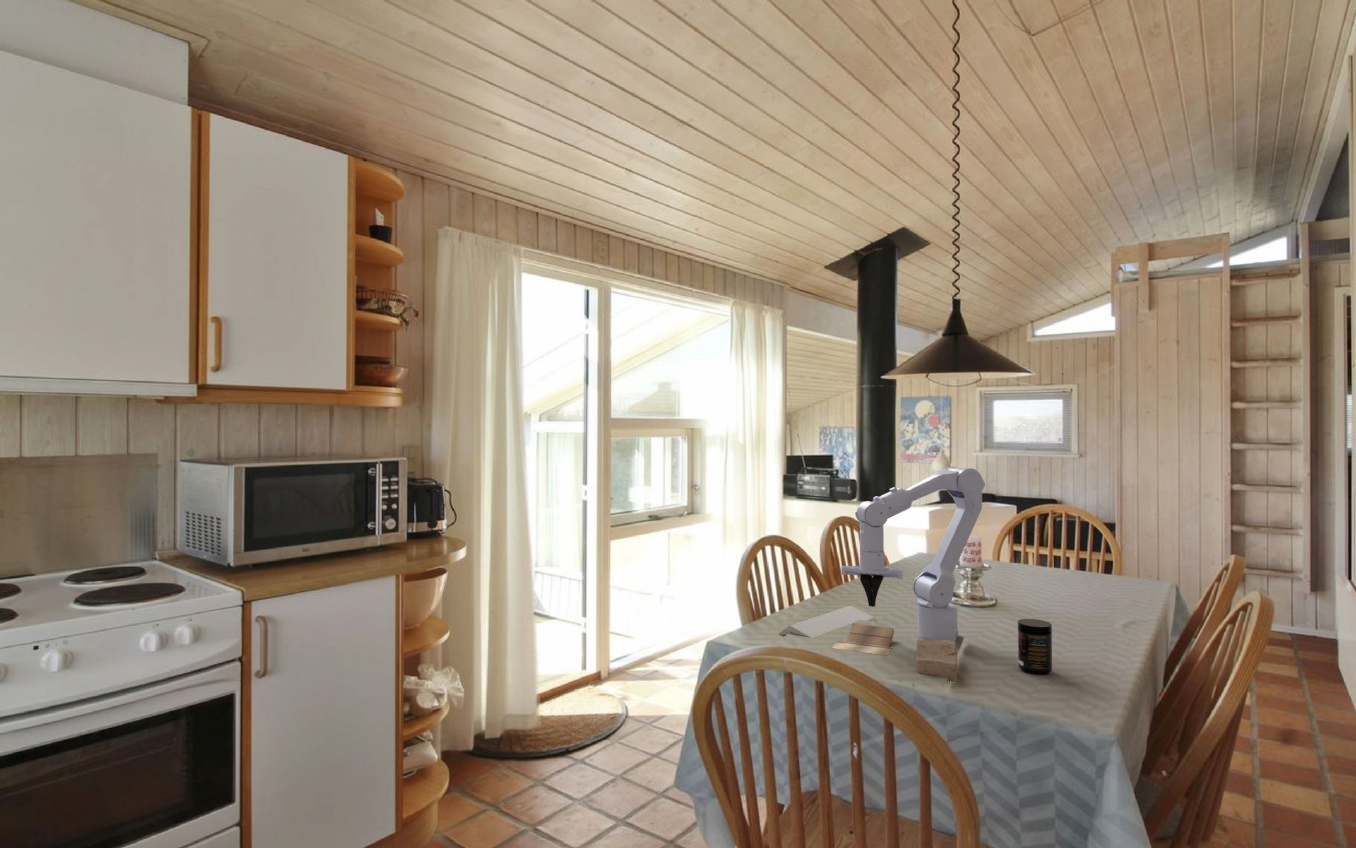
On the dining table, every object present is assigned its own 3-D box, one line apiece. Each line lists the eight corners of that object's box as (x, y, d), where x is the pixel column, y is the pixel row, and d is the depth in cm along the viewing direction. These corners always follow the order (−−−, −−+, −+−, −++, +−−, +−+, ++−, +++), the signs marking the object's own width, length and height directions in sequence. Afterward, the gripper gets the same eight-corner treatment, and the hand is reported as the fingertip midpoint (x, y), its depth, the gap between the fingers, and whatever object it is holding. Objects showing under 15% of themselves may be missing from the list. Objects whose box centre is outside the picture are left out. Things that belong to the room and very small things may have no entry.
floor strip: (892, 653, 170) (892, 647, 170) (887, 660, 164) (887, 654, 164) (838, 646, 175) (837, 640, 175) (831, 653, 170) (831, 647, 170)
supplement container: (1059, 675, 154) (1058, 626, 154) (1029, 676, 153) (1028, 627, 154) (1040, 665, 161) (1040, 618, 161) (1011, 666, 160) (1011, 619, 160)
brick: (958, 684, 150) (957, 662, 150) (915, 680, 152) (915, 657, 152) (955, 661, 165) (955, 640, 165) (917, 657, 168) (917, 637, 168)
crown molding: (817, 646, 177) (817, 631, 178) (777, 636, 186) (777, 622, 186) (876, 623, 198) (876, 610, 198) (837, 615, 207) (837, 603, 207)
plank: (893, 632, 176) (893, 628, 176) (889, 651, 171) (888, 647, 170) (853, 627, 181) (852, 623, 180) (846, 646, 175) (846, 641, 175)
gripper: (903, 549, 179) (903, 604, 179) (844, 546, 184) (844, 599, 184) (901, 554, 172) (901, 611, 172) (840, 550, 178) (840, 606, 178)
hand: (872, 605), depth 178 cm, fingers closed
